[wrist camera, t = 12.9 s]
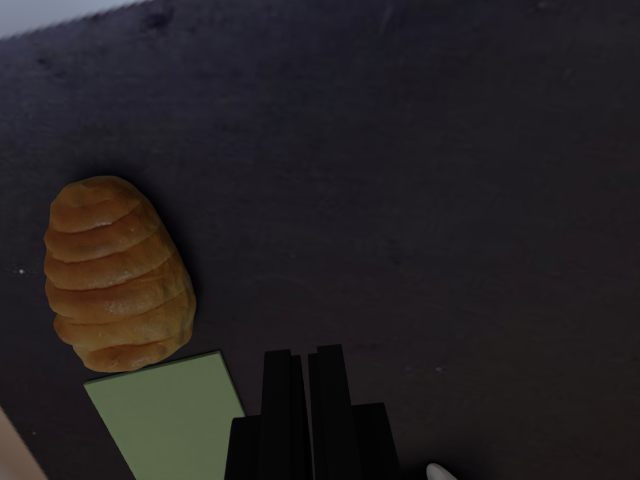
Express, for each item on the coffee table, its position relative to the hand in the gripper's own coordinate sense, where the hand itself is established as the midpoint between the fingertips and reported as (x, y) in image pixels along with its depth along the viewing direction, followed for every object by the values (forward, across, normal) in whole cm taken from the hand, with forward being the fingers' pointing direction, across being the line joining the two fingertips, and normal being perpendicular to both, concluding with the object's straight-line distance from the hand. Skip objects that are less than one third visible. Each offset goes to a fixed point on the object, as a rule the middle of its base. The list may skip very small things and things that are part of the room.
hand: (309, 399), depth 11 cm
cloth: (+14, +8, +15) cm, 22 cm away
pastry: (+15, +9, +4) cm, 18 cm away
